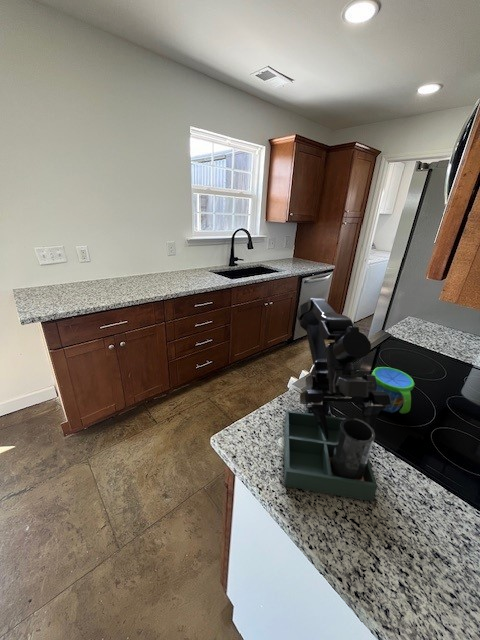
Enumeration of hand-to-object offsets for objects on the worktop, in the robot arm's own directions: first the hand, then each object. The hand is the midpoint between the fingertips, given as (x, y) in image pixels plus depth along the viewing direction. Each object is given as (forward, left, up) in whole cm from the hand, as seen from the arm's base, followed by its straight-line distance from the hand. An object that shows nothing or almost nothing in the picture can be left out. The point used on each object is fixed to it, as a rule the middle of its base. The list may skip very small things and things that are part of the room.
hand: (348, 439), depth 57 cm
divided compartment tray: (-2, -4, -9) cm, 10 cm away
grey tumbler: (+2, 0, -8) cm, 8 cm away
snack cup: (-24, +17, -9) cm, 31 cm away
